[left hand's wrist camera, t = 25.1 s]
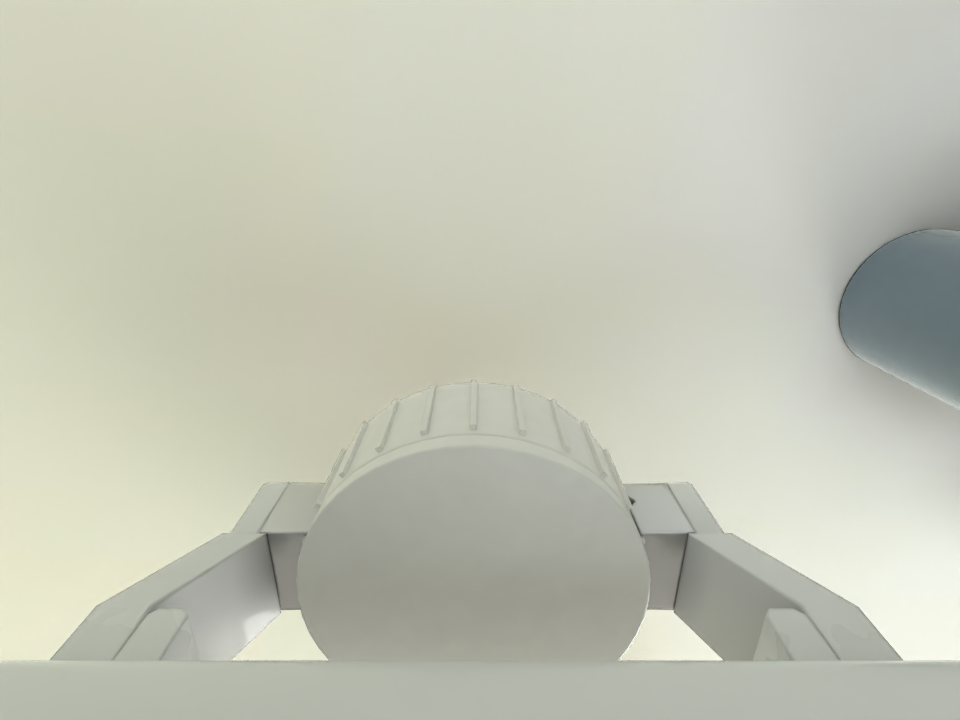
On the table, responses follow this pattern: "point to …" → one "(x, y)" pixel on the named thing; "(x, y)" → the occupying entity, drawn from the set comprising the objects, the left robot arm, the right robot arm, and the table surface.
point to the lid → (473, 536)
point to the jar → (909, 312)
